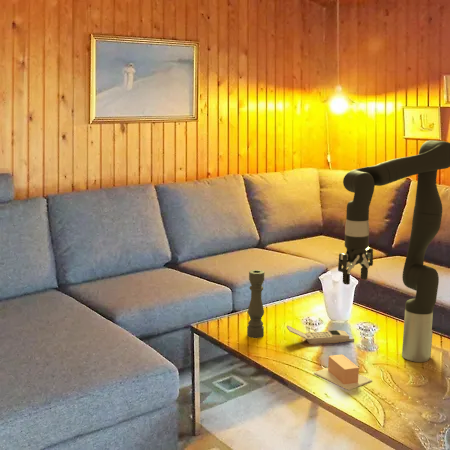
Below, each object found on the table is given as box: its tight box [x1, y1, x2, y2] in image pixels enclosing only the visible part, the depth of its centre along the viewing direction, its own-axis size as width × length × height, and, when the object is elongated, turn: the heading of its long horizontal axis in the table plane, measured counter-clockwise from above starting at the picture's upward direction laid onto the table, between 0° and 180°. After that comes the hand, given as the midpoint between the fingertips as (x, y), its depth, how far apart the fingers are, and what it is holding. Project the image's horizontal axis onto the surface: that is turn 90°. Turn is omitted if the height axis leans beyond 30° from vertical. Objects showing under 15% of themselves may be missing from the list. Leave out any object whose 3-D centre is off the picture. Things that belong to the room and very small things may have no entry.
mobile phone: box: [286, 325, 355, 345], centre depth 233 cm, size 6×6×25 cm
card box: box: [327, 354, 360, 384], centre depth 203 cm, size 11×5×5 cm, turn 18°
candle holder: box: [246, 269, 265, 339], centre depth 236 cm, size 6×6×25 cm
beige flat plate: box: [313, 367, 373, 391], centre depth 203 cm, size 11×15×1 cm
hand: (355, 281), depth 205 cm, fingers open, 8 cm apart
